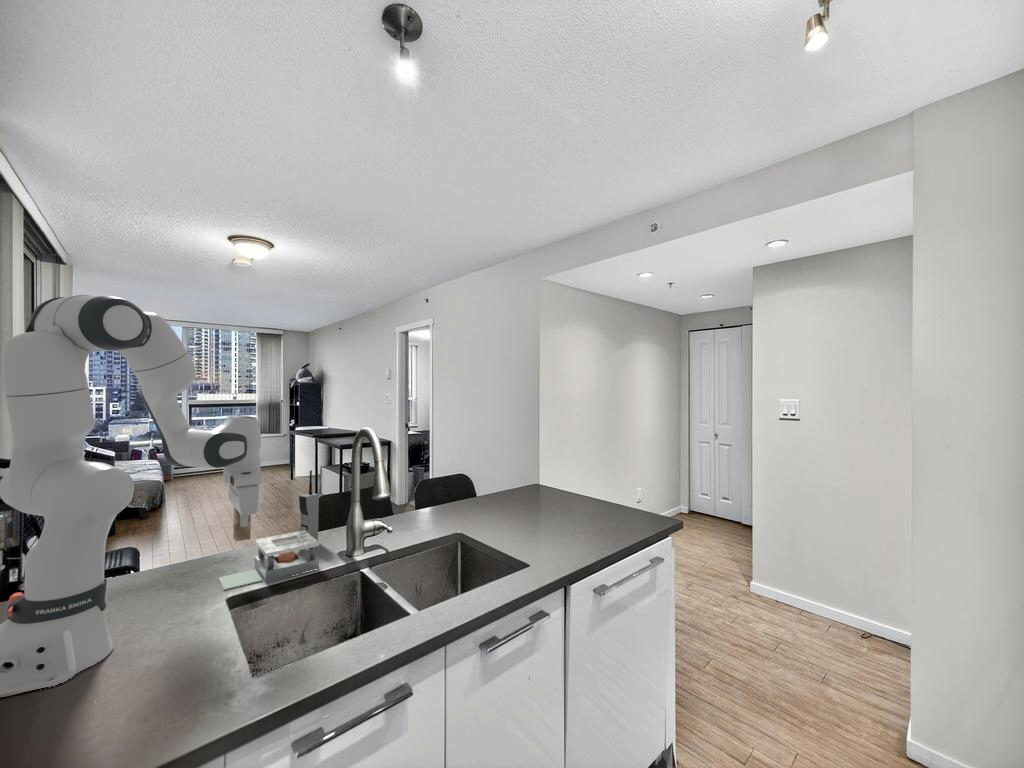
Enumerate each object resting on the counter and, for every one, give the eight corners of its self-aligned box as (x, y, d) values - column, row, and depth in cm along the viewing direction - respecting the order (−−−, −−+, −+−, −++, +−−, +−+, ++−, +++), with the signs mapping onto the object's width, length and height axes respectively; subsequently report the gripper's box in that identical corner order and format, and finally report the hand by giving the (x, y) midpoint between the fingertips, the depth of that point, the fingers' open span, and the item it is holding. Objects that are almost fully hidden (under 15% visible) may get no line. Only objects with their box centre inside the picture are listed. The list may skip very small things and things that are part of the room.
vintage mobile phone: (297, 545, 152) (299, 470, 152) (310, 540, 156) (311, 468, 156) (305, 547, 150) (306, 472, 150) (318, 542, 154) (319, 469, 154)
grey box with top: (265, 582, 123) (266, 553, 123) (254, 566, 134) (254, 539, 134) (318, 569, 132) (319, 542, 132) (304, 555, 143) (304, 530, 143)
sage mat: (223, 590, 118) (223, 589, 118) (218, 579, 125) (218, 577, 125) (262, 581, 124) (262, 579, 124) (255, 570, 131) (255, 569, 131)
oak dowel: (235, 541, 122) (236, 508, 122) (233, 538, 125) (233, 505, 125) (250, 538, 124) (250, 506, 124) (247, 535, 127) (248, 503, 127)
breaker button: (280, 569, 130) (280, 555, 130) (276, 564, 133) (276, 550, 133) (296, 565, 133) (296, 551, 133) (292, 560, 136) (292, 547, 136)
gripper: (222, 469, 130) (222, 516, 130) (235, 481, 115) (235, 536, 115) (247, 466, 134) (247, 512, 134) (263, 478, 119) (262, 530, 119)
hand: (241, 523), depth 125 cm, fingers closed on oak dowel, 3 cm apart
